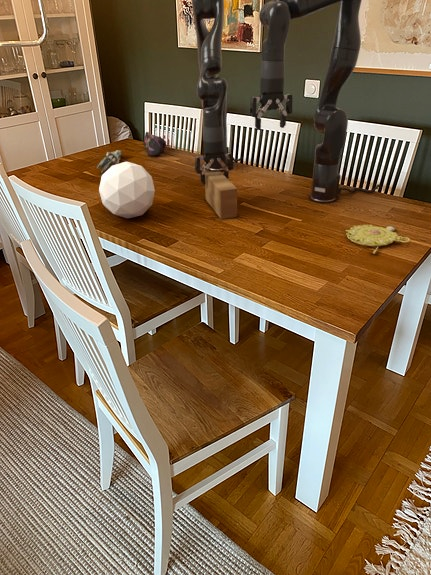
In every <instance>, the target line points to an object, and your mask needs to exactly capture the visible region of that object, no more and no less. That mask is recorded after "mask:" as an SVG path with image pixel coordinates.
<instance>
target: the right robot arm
mask: <svg viewBox="0 0 431 575" xmlns="http://www.w3.org/2000/svg"><path fill="white" fill-rule="evenodd" d="M337 3H339V8H338V9H339V10H338V15H337V19H336V25H335V30H334V34H333V39H332V43H331V48H330V52H329V57H328V62H327V68H326V72H325V77H324V81H323V85H322V90H321V93H320V95H319V96H320V97H319V99H318V103H317V106H316V108H315V113H314V115H313V116H314V117H313V127H314V129H315V130H316V131H317V132H319V133H321V134H323V141H322V142H321V143H318V144H316V146H315V150H314V158H313V172H312V182H311V192H310V199H311V200H312V201H314V202H317V203H332V202H334V201H336V200H338V197H339V195H341V193H342V191H346V192H349V193H354V192H355V191H360V192H364V193H373V192H375V191H376V190H378V188H379V189H381V188H382V185H380V184H378V183H377V185H376V186H374V188H373V189H370V190H368V189H365V188H361V187H354V188H352V189H350V188H347V187H342V186H340V183H341V182H340V181H341V174H340V173H339V171H340V163H341V154H342V150H343V148H344V146H345V142H346V136H347V131H348V126H349V116H348V114H347V112H346V111H345V110H344V109H342V108H339V107H337V105H338V101H339V96H340V94H341V91H342V90H343V87H344V85H345V84H346V83H347V82H348V80H349V78H350V77H351V76H352V74H353V73H354V71H355V69H356V66H357V63H358V59H359V56H360V50H361V45H362V36H361V29H360V22H359V20H360V19H359V17H360V9H361V5H362V0H270V1H268V2H265V3H264V4H263V6H262V7H261V9H260V10H259V14H258V18H259V22H260V24H261V26H263V27H264V28H265V29H268V30H267V36H266V38H265V39H264V40H263V41H262V46H261V64H260V73H259V75H260V83H259V84H260V87H259V89H260V90H259V93H260V94H259V96H253V95H252V96H251V97H250V102H249V103H250V104H249V116H251V117H252V118H254V128H255V129H256V130H257V131H261V130H262V116H263V115H264V113H266V112H267V111H273V110H274V111H276V110H277V111H279V113H280V115H279V127H280V128H281V129H284V128H285V126H286V125H287V116H288V115H291V114H293V95H292V94H291V93H286V94H284V91H285V90H284V88H285V73H286V72H285V71H286V70H285V69H286V68H285V67H286V65H285V57H286V56H285V53H286V42H287V39H288V35H289V30H290V27H291V21H292V20H299V19H303V18H306V17H307V16H310V15H312V14H314V13H317V12H319V11H321V10H324V9H326V8H328V7H330V6H333V5H335V4H337ZM283 101H284V102H285V107H284V105H283V104H282V103H283ZM259 103H260V105H259V106H258V108H257V105H258V104H259Z"/></svg>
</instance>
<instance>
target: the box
mask: <svg viewBox="0 0 431 575" xmlns="http://www.w3.org/2000/svg"><path fill="white" fill-rule="evenodd" d="M205 182H206V184H204V191H205V194H204V195H205V201H206V202H207V203H208V205H209V206H210V207H211V209H213V210H212V211H214V212H215V214H216V215H217V217H219V218H220V220H224V219H231V218H232V219H233V218H237V217H238V188H237V187H236V186H235V185H234V184H233V183H232V182H231V181H230V180H229V179H227V178H226V177H225V176H224V173H222V171H211V172H205Z"/></svg>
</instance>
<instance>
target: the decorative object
mask: <svg viewBox="0 0 431 575" xmlns="http://www.w3.org/2000/svg"><path fill="white" fill-rule="evenodd" d="M395 230H396V228H395V227H394V226H390V225H389V226H386V227H381V226H377V225H374V224H371V223H370V224H362V225H360V224H358V225H353V227H350V228H349V229H345V232H346V233H345V235H346V236H347V239H348V240H349V241H350V242H353V243H355V244H357V245H361V246H366V247H376V248H375V249H374V250H373V252H372V254H373V255H375V254H376V253H377V252H378V251H377V250H378V249H379V247H383V246H387V245H389V244H392V243H393V242H397V243H404V244H407V243H410V242H411V238H409V237H408V236H401V235H400V236H399V234H398V232H396V231H395ZM403 239H406V240H403Z"/></svg>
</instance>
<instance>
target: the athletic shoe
mask: <svg viewBox="0 0 431 575" xmlns="http://www.w3.org/2000/svg"><path fill="white" fill-rule="evenodd" d="M143 146H144V147H145V149H146V150H145V152H146V153H147V155H148V156H151V157H152V156H154V157H155V156H159V155H160V154H162V152H164V150H165V148H167V147H170V145H169V144H167V140H165V139H164V138H162V137H160V136H158V135H154V134H152V133H150V132H149V131H146V132H145V134H144V139H143Z"/></svg>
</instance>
